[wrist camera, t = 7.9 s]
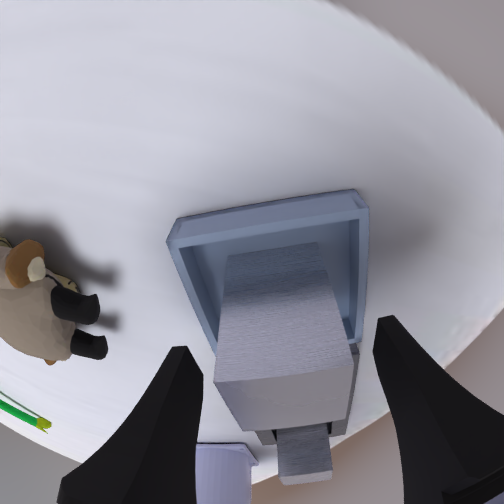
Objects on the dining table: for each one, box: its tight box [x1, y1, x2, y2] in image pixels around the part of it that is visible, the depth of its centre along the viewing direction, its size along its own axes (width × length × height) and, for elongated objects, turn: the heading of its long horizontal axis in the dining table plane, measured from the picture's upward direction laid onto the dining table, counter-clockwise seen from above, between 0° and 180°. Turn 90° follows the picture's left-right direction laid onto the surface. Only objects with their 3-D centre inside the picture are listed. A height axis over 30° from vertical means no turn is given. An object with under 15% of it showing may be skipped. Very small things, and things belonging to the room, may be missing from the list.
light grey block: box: [213, 242, 354, 431], centre depth 11 cm, size 4×4×6 cm
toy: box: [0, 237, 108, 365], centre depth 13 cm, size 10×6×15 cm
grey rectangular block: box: [277, 422, 333, 485], centre depth 20 cm, size 4×4×6 cm
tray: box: [166, 189, 369, 356], centre depth 14 cm, size 8×8×2 cm
